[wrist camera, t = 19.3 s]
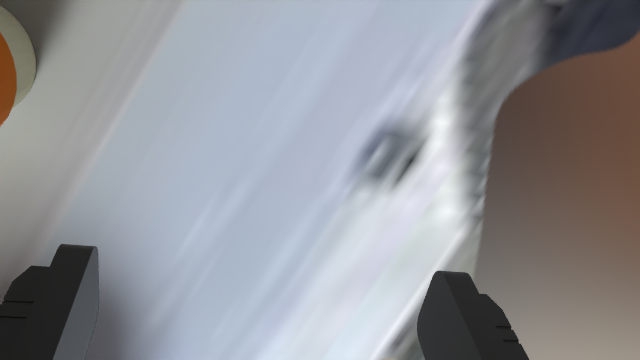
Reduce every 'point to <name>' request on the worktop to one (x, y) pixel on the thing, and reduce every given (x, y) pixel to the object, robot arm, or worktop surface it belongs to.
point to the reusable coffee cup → (14, 63)
